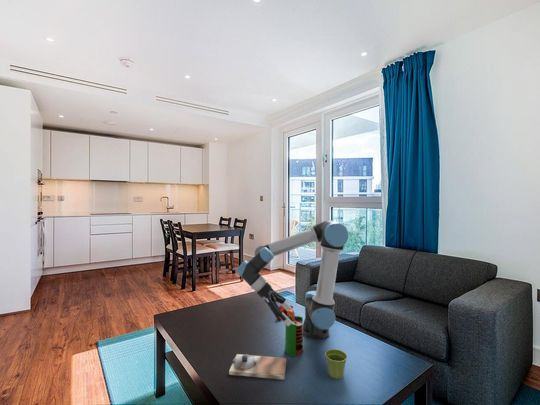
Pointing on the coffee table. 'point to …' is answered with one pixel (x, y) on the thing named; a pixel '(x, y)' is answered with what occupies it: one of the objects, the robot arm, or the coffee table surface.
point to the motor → (294, 335)
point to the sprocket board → (258, 366)
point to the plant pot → (336, 362)
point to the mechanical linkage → (283, 310)
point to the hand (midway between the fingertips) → (291, 318)
